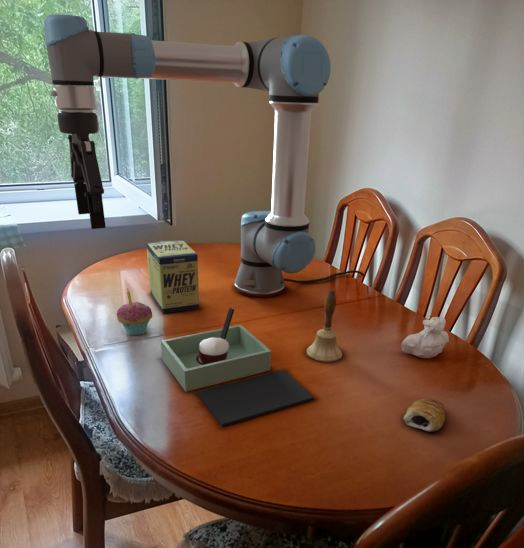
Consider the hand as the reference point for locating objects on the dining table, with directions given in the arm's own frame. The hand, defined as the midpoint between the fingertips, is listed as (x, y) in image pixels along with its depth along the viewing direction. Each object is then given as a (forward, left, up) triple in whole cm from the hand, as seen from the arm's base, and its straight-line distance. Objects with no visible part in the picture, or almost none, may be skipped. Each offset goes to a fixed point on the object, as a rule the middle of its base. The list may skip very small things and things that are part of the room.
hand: (91, 220), depth 106 cm
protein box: (-22, -14, -28) cm, 39 cm away
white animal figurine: (-64, +41, -28) cm, 81 cm away
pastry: (-45, +60, -28) cm, 80 cm away
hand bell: (-43, +30, -28) cm, 60 cm away
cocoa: (-18, +24, -28) cm, 41 cm away
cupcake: (-7, 0, -28) cm, 29 cm away
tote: (-18, +24, -28) cm, 41 cm away
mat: (-20, +39, -28) cm, 52 cm away
